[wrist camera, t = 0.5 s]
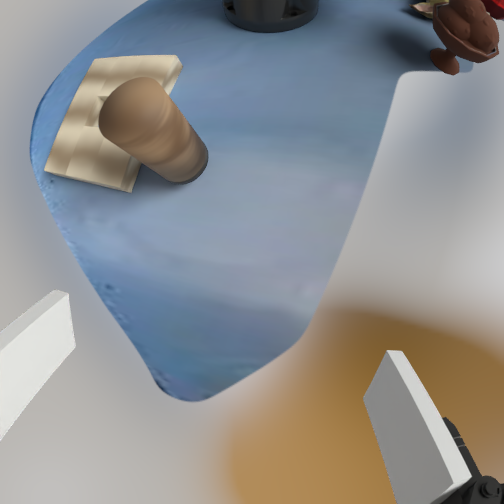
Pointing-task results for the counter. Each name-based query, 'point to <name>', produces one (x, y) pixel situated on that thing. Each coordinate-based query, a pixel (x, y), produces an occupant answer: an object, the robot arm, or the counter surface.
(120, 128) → the walnut peg
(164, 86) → the birch board
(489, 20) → the ice cream bowl
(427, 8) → the ceramic sculpture
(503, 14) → the bottle
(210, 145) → the counter surface
